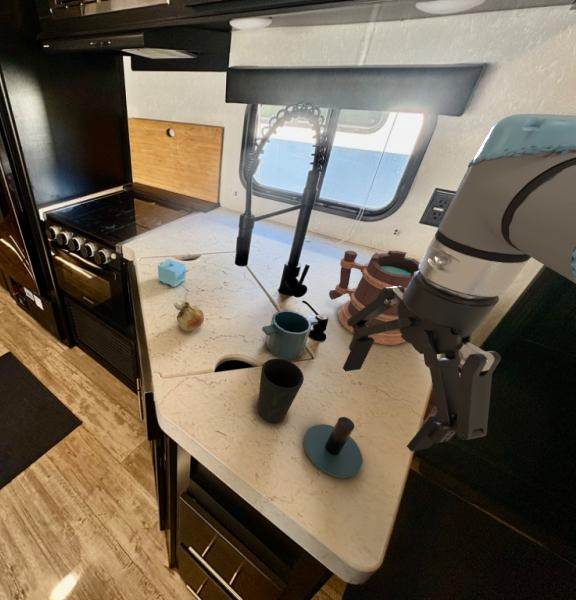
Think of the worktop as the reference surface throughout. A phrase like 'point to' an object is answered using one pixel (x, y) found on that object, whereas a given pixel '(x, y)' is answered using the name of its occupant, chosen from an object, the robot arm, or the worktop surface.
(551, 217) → the robot arm
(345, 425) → the lid
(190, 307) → the onion
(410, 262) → the mug
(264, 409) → the cup
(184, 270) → the light-blue knobbed box
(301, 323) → the pot
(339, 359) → the worktop surface
